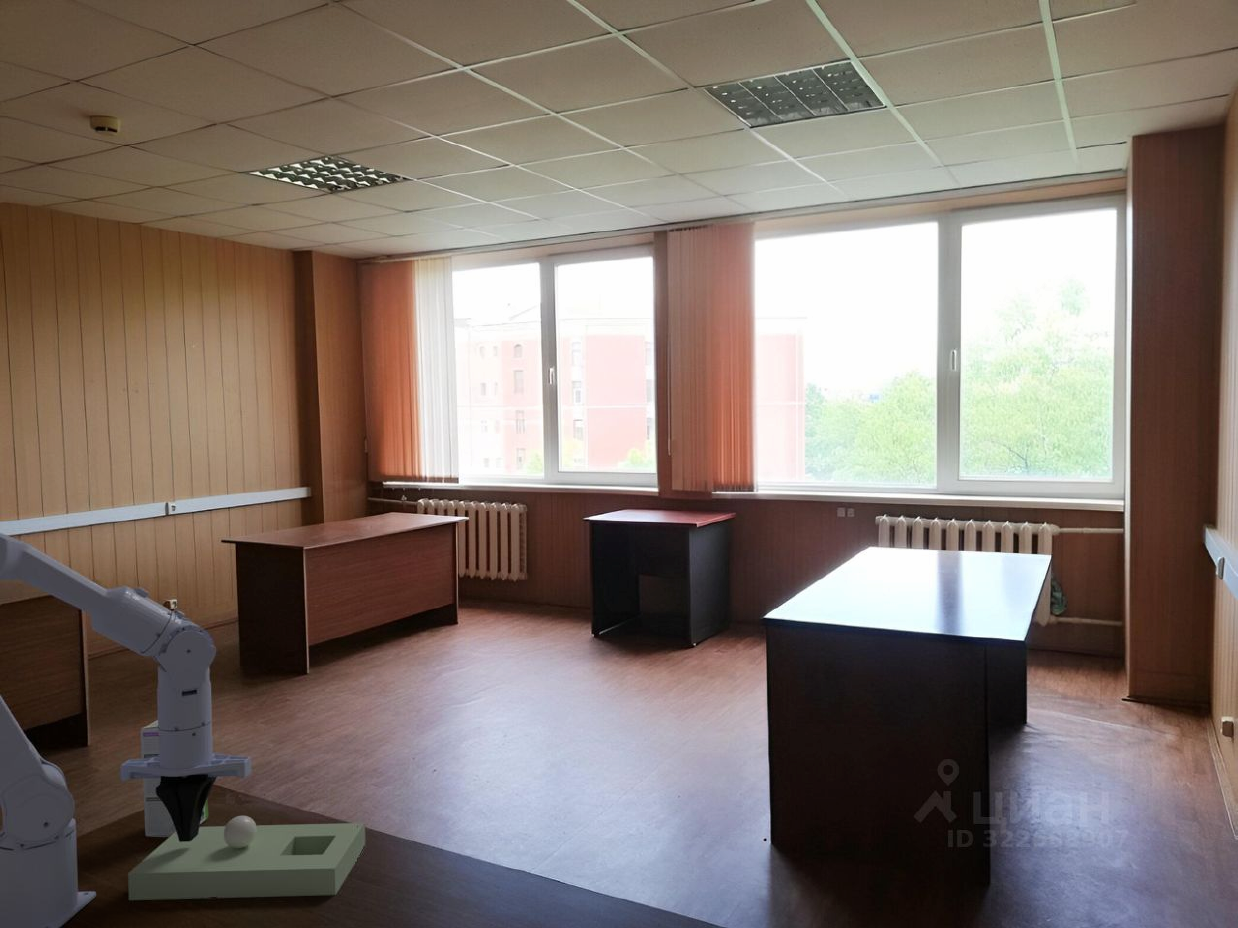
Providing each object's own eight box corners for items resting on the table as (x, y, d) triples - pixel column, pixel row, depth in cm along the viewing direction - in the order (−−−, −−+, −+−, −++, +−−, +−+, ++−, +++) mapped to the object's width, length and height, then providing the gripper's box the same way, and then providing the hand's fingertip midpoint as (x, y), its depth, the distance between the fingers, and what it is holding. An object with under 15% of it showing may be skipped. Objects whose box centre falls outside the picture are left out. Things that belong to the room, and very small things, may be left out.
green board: (128, 899, 98) (128, 873, 98) (181, 850, 110) (180, 827, 110) (335, 894, 99) (334, 868, 98) (365, 846, 111) (364, 822, 110)
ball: (218, 854, 103) (217, 823, 102) (231, 840, 106) (231, 810, 106) (249, 853, 103) (248, 822, 103) (261, 839, 106) (261, 810, 106)
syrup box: (187, 837, 114) (184, 725, 114) (142, 837, 114) (139, 726, 114) (209, 818, 120) (206, 712, 120) (166, 819, 120) (163, 713, 120)
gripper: (260, 711, 108) (263, 821, 108) (141, 714, 108) (144, 824, 108) (235, 730, 101) (239, 847, 101) (108, 733, 101) (112, 851, 101)
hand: (188, 837), depth 104 cm, fingers closed
